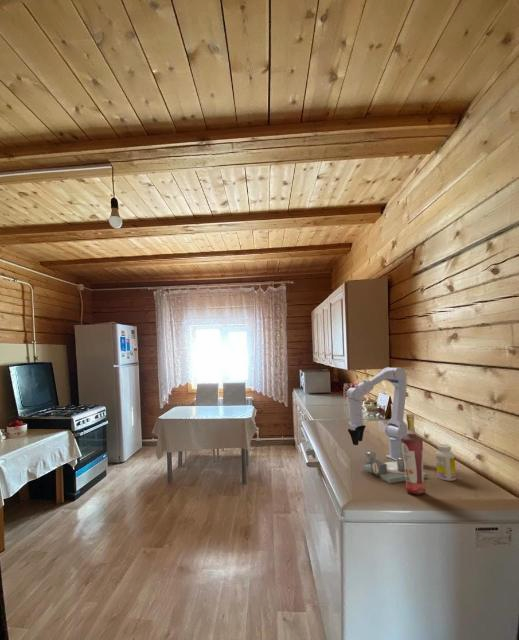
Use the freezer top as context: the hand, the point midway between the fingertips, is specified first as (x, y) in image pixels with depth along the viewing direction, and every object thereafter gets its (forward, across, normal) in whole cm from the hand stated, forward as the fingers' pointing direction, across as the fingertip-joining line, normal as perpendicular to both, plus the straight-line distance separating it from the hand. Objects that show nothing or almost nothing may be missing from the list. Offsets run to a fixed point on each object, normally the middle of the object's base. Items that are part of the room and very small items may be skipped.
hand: (357, 442), depth 158 cm
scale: (+10, +6, +16) cm, 20 cm away
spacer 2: (+7, +7, +20) cm, 23 cm away
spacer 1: (+10, -3, +5) cm, 11 cm away
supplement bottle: (+10, +2, +36) cm, 38 cm away
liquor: (+10, +23, +26) cm, 37 cm away
